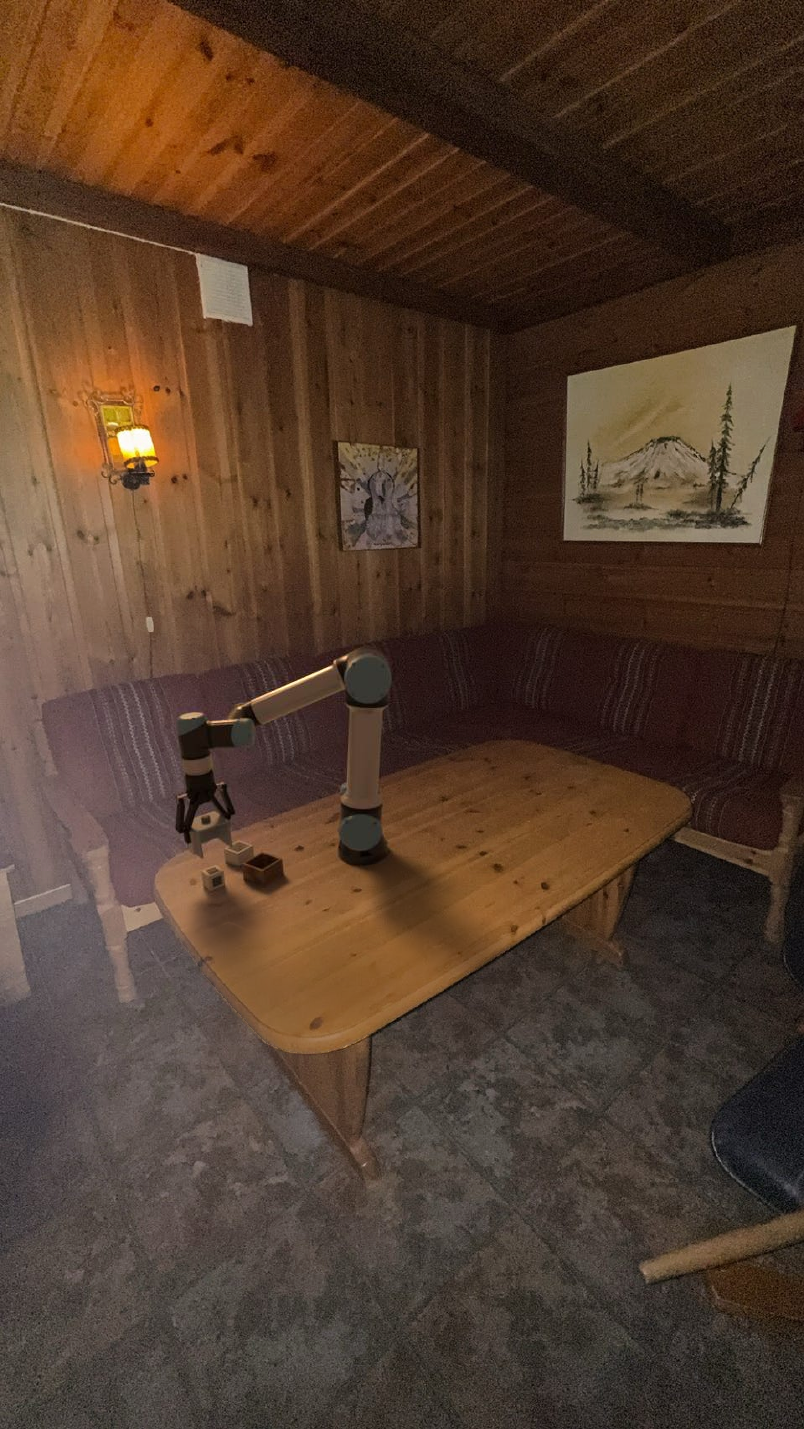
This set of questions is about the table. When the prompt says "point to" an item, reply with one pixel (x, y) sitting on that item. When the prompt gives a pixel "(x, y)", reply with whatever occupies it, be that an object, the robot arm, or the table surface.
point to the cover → (210, 830)
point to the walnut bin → (262, 869)
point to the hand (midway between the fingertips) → (209, 846)
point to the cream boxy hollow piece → (213, 877)
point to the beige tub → (238, 853)
